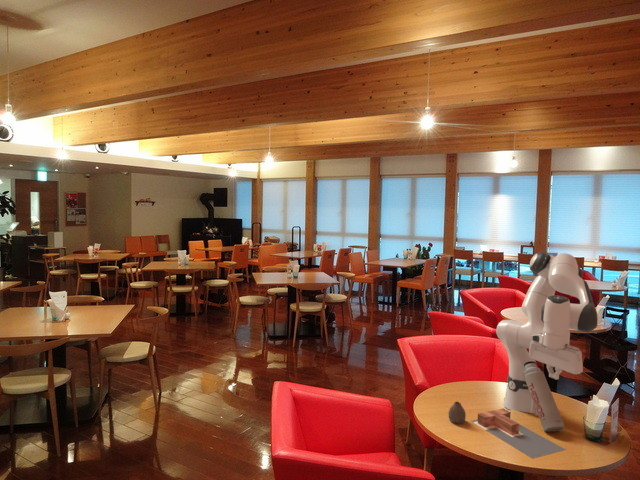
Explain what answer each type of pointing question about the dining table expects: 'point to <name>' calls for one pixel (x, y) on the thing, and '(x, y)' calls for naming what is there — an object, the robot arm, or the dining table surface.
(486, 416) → the t block
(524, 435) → the board
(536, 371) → the thermos bottle
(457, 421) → the vase
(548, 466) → the dining table surface
